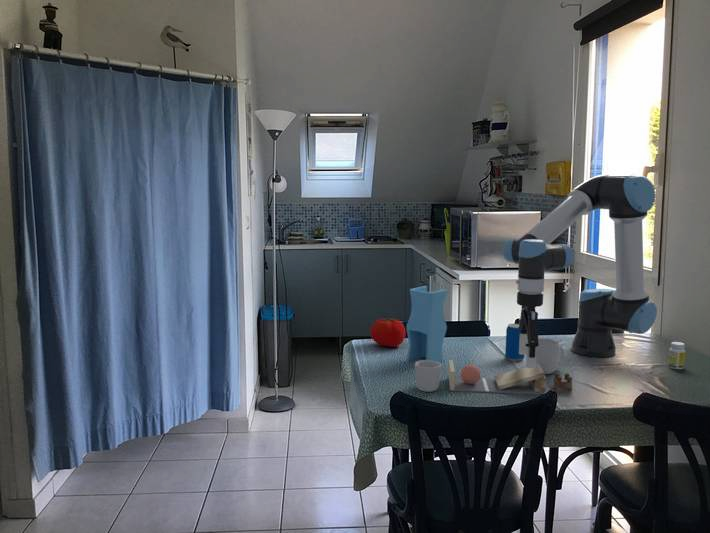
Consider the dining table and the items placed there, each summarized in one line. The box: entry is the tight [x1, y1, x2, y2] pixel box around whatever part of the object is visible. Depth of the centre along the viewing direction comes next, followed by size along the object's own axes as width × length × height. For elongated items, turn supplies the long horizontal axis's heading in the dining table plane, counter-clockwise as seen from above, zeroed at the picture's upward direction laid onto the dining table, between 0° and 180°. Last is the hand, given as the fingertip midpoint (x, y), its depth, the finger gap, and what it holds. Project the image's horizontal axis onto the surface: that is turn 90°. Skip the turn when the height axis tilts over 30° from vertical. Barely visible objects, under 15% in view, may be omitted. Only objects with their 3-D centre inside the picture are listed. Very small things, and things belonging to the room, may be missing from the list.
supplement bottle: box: [668, 341, 686, 370], centre depth 215 cm, size 5×5×8 cm
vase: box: [405, 285, 448, 363], centre depth 219 cm, size 10×10×25 cm
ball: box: [460, 364, 482, 384], centre depth 196 cm, size 6×6×6 cm
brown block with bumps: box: [553, 372, 573, 392], centre depth 193 cm, size 5×5×4 cm
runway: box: [447, 359, 551, 396], centre depth 195 cm, size 30×12×6 cm, turn 84°
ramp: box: [494, 363, 547, 392], centre depth 194 cm, size 14×9×6 cm, turn 84°
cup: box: [414, 359, 442, 393], centre depth 193 cm, size 11×8×8 cm
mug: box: [532, 337, 565, 375], centre depth 211 cm, size 13×9×10 cm
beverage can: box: [504, 323, 525, 362], centre depth 223 cm, size 6×6×12 cm
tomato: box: [370, 317, 407, 348], centre depth 239 cm, size 13×12×11 cm
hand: (527, 360), depth 193 cm, fingers open, 13 cm apart
